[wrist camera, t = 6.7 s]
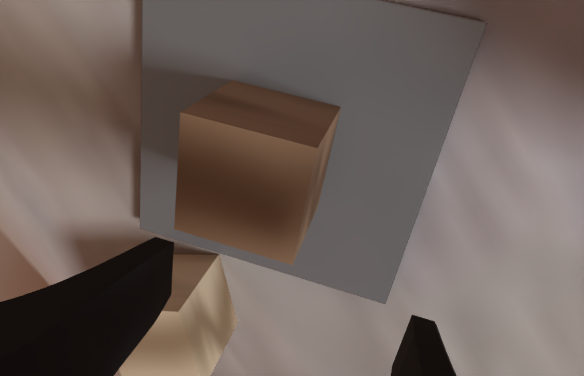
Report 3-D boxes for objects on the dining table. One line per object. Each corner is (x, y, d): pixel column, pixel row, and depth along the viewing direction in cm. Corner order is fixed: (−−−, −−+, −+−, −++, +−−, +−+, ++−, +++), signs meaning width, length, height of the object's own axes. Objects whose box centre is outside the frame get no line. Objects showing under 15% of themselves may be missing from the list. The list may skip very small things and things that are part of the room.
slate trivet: (386, 294, 24) (385, 304, 23) (147, 221, 26) (139, 228, 25) (484, 21, 17) (486, 23, 17) (153, -50, 19) (143, -50, 19)
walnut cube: (318, 205, 22) (292, 265, 18) (221, 177, 23) (174, 228, 18) (341, 107, 20) (317, 148, 15) (232, 80, 20) (180, 112, 16)
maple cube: (238, 321, 28) (204, 387, 24) (167, 318, 30) (123, 380, 25) (219, 253, 26) (178, 311, 22) (144, 253, 28) (92, 308, 23)
